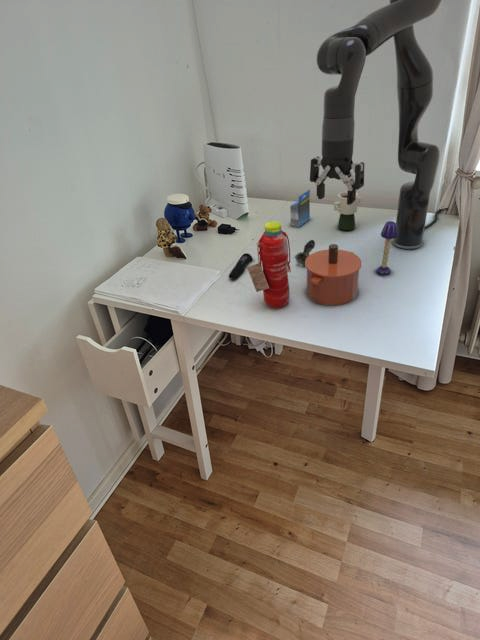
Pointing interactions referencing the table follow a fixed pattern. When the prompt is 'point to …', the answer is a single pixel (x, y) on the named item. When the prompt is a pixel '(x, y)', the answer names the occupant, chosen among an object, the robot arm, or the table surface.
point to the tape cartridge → (300, 210)
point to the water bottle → (272, 266)
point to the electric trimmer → (240, 265)
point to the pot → (332, 288)
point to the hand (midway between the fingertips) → (335, 201)
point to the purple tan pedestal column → (387, 246)
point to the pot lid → (333, 263)
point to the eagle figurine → (306, 251)
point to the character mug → (346, 211)
